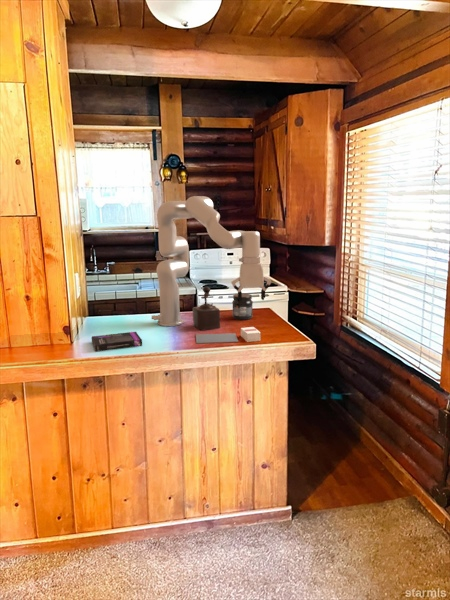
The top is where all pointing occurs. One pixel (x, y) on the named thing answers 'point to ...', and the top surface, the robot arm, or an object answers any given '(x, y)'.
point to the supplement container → (242, 307)
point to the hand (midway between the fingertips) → (251, 300)
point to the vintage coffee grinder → (206, 314)
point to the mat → (216, 338)
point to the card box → (250, 334)
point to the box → (116, 341)
